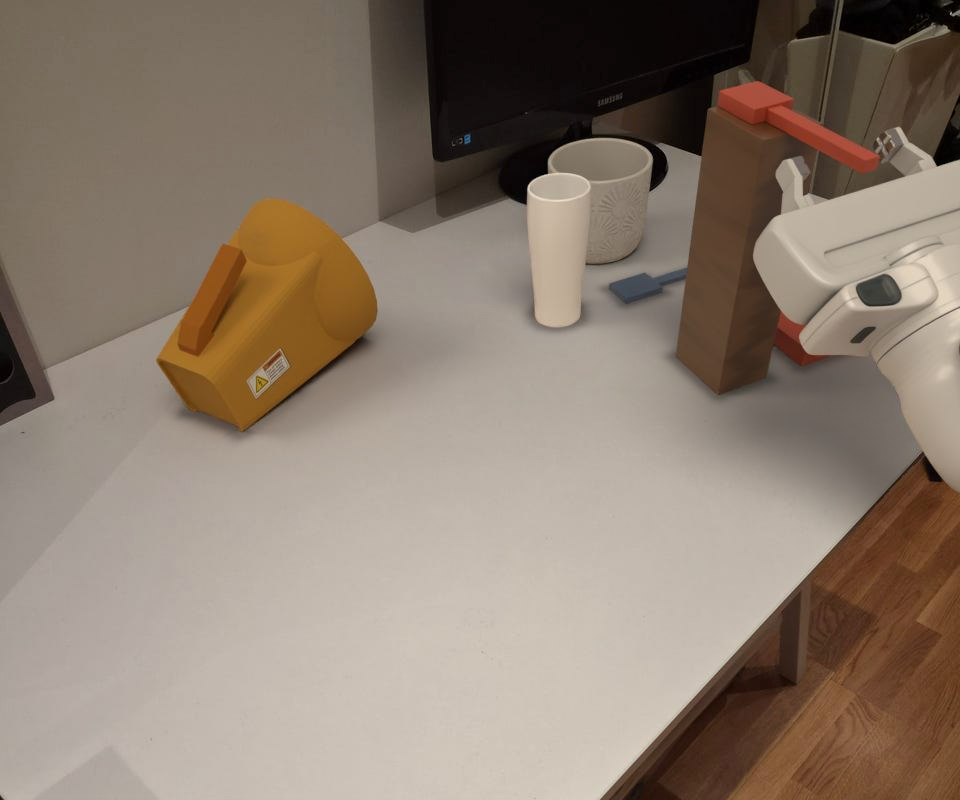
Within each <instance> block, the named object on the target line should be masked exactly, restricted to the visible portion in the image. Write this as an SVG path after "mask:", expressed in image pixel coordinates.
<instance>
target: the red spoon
mask: <svg viewBox="0 0 960 800" xmlns="http://www.w3.org/2000/svg"><path fill="white" fill-rule="evenodd" d="M794 102H795V99H794V98H793V97H791V96H789V95H787V94H786V93H783V92H781V91H780V90H777V89H775V88H774V87H771V86H769V85H767V84H766V83H763V82H761V81H759V80H756V81H752V82H747V83H744V84H740V85H737V86H732V87H729V88H725V89H720V90H719V93H718V100H717V106H719V107H721V108H723V109H724V110H726V111H728V112H730V113H732V114H733V115H735V116H737V117H739V118H741V119H742V120H744V121H746V122H748V123H750V124H751V125H753V124H757V123H760V122H764V121H766V122H767V123H769V124H771V125H773V126H775V127H776V128H778V129H780V130H782V131H784V132H786V133H788V134H789V135H791V136H793V137H795V138H797V139H799V140H800V141H802V142H804V143H806V144H808V145H810V146H812V147H813V148H815V149H817V150H818V152H820V153H822V154H825V155H827V156H828V157H830V158H832V159H834V160H835V161H838V162H839V163H841V164H843V165H845V166H847V167H848V168H851V169H852V170H854V171H856V172H858V173H859V174H861V175H862V174H866V173H870V172H872V171H876V170H877V169H878V165H879V163H880V161H879V158H880V156H879V155H878V154H877V153H875V152H873V151H870V150H869V149H867V148H866V147H863V146H861V145H859V144H857V143H855V142H853V141H851V140H849V139H848V138H846V137H844V136H842V135H839V134H838V133H836V132H834V131H832V130H830V129H828V128H826V127H824V126H823V127H822V126H820V125H818V124H816V123H815V122H813V121H811V120H809V119H807V118H805V117H803V116H801V115H799V114H797V113H795V112H793V111H792V108H794V107H793V106H794Z"/></svg>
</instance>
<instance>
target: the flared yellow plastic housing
mask: <svg viewBox="0 0 960 800" xmlns="http://www.w3.org/2000/svg"><path fill="white" fill-rule="evenodd" d="M377 316H378V299H377V296H376V292H375V288H374V286H373V283H372V281H371V278H370V276H369V274H368V272H367V271H366V269H365V267H364V266H363V264H362V263H361V261H360V259H359V258H358V257H357V255H356V254H355V253H354V251H353V250H352V249H351V248H350V246H349V245H348V244H347V242H345V241H344V239H343V238H342V237H341V236H340V235H339V234H338V233H337V232H336V231H335V230H334V229H332V227H330V226H329V225H328V223H326V222H325V221H323V220H322V219H320V218H319V217H318V216H317V215H315V214H314V213H313V212H311V211H310V210H307V209H305V208H304V207H302V206H300V205H298V204H296V203H293V202H291V201H288V200H285V199H283V198H282V199H281V198H275V197H270V198H263V199H261V200H259V201H257V202H255V203H254V205H253V206H252V207H251V208H250V209H249V210H248V211H247V214H245V216H244V218H243V220H242V221H241V223H240V225H239V228H237V229H236V230H235V231H234V232H233V234H232V236H231V238H230V239H229V241H228V243H227V244H225V243H222V244H221V246H220V248H219V250H218V251H217V254H216V255H215V257H214V259H213V261H212V262H211V265H210V267H209V269H208V271H207V272H206V275H205V276H204V278H203V281H202V282H201V284H200V286H199V287H198V290H197V292H196V294H195V295H194V297H193V299H192V300H191V302H190V304H189V306H188V307H187V309H186V310H185V312H184V314H183V316H182V317H181V319H180V320H179V322H177V323H178V324H177V325H176V326H175V327H174V330H173V332H172V333H171V334H170V336H169V338H168V340H167V341H166V343H165V344H164V346H163V348H162V349H161V351H160V352H159V354H158V355H157V357H156V359H155V361H156V364H157V366H158V367H159V368H160V370H161V372H162V373H163V374H164V376H165V377H166V379H167V380H168V382H169V383H170V385H171V386H172V388H173V389H174V390H175V392H176V393H177V395H178V397H179V398H180V399H181V401H182V403H183V404H184V405H185V407H187V409H188V410H189V411H191V412H193V413H196V412H197V411H199V412H202V413H205V414H207V415H209V416H211V417H214V418H216V419H219V420H221V421H224V422H226V423H229V424H231V425H233V426H236V427H238V428H239V429H238V432H241V433H243V432H244V431H246V430H247V429H249V428H250V427H251V426H253V425H254V424H255V423H256V422H258V420H260V419H261V418H262V417H264V416H265V415H266V414H267V413H269V412H270V411H271V410H272V409H273V408H275V407H276V406H277V405H278V404H280V403H282V401H284V400H285V399H286V398H287V397H288V396H290V395H291V394H292V393H294V392H295V391H296V390H297V389H298V388H300V387H301V386H302V385H304V383H306V382H307V381H308V380H309V379H311V378H312V377H313V376H314V375H315V374H317V373H318V372H319V371H321V370H322V369H323V368H324V367H326V366H327V365H328V364H329V363H331V362H332V361H333V360H335V359H336V358H338V356H339V355H341V354H342V353H343V352H345V350H347V349H349V347H351V346H352V345H353V344H354V343H355V342H356V341H357V340H359V339H360V338H361V337H363V335H365V334H366V333H367V332H368V331H369V330H370V329H371V328H373V325H374V324H375V322H376V321H377Z"/></svg>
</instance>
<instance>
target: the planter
mask: <svg viewBox="0 0 960 800" xmlns="http://www.w3.org/2000/svg"><path fill="white" fill-rule="evenodd" d="M653 163H654V158H653V155H652V152H650V150H649V149H648V148H646V147H645V146H643V145H642V144H639V143H637V142H634V141H631V140H626V139H621V138H615V137H614V138H613V137H594V138H586V139H580V140H576V141H572V142H569V143H566V144H563V145H562V146H560V147H558V148H556V149H555V150H554V151H552V153H551V154H550V155H549V157H548V158H547V174H552V173H571V174H576V175H579V176H582V177H584V178H585V179H587V180H588V181H589V182H590V184H591V220H590V232H589V240H588V248H587V256H586V264H587V265H588V264H589V265H603V264H610V263H614V262H617V261H620V260H623V259H624V258H625V257H628V256H629V255H630V254H632V253H633V252H634V251H635V250H636V248H637V247H638V245H639V243H640V242H641V239H642V237H643V233H644V228H645V225H646V224H645V223H646V218H647V212H648V204H649V196H650V190H651V189H650V188H651V178H652V171H653Z"/></svg>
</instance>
